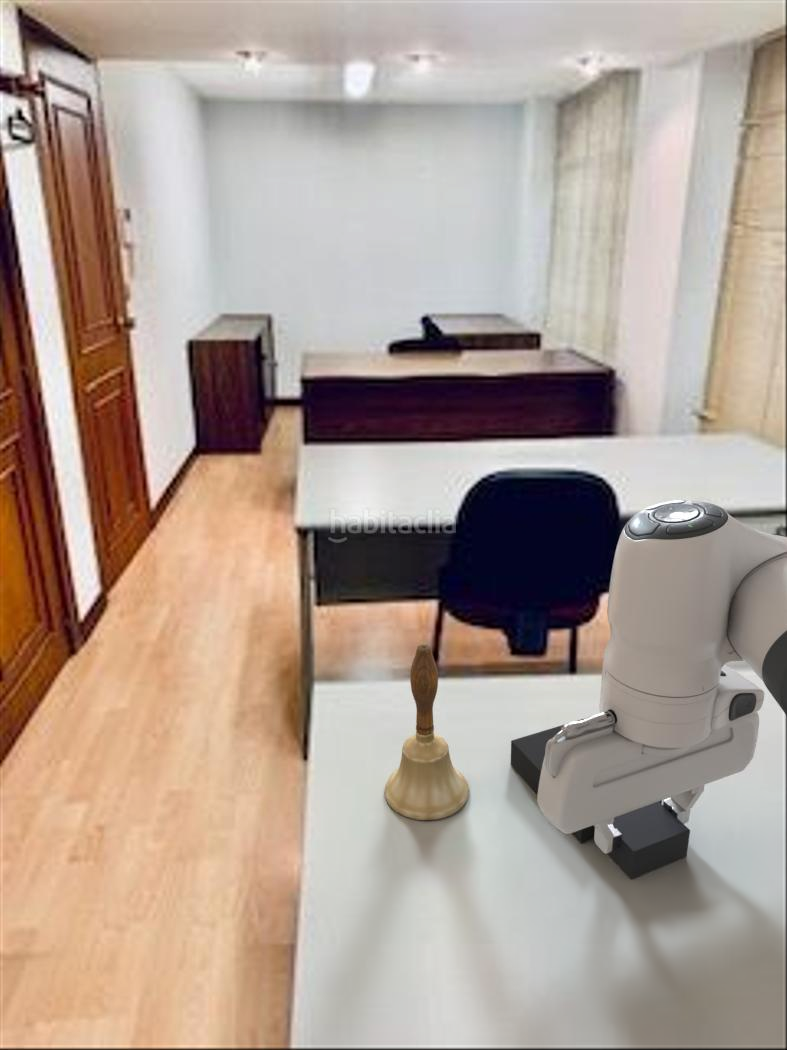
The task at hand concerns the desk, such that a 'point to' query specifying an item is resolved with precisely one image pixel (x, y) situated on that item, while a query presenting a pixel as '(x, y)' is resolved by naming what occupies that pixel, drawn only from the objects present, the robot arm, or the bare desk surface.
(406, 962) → the desk surface
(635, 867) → the graphite pad
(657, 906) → the desk surface
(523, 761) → the black pad
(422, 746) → the hand bell
